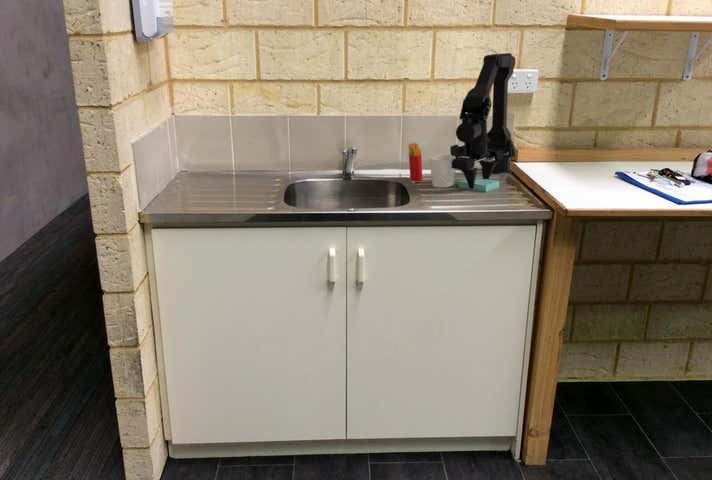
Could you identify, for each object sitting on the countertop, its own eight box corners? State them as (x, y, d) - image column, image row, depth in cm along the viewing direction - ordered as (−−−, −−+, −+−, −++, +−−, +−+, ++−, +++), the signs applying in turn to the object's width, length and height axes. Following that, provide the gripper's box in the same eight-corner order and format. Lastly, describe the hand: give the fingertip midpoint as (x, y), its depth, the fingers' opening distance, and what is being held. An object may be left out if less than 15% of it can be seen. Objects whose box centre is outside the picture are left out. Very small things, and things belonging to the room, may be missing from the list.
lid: (471, 182, 196) (471, 176, 196) (499, 187, 188) (499, 181, 188) (458, 187, 192) (457, 181, 192) (486, 192, 184) (485, 185, 184)
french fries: (422, 183, 205) (420, 145, 200) (410, 184, 205) (408, 146, 201) (422, 177, 213) (420, 140, 209) (410, 178, 214) (408, 141, 209)
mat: (473, 184, 198) (473, 181, 198) (503, 189, 189) (503, 186, 189) (453, 191, 192) (453, 188, 192) (483, 196, 183) (483, 193, 183)
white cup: (454, 190, 193) (453, 159, 190) (430, 191, 195) (428, 160, 192) (456, 184, 200) (455, 154, 197) (432, 184, 202) (430, 155, 199)
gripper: (475, 129, 197) (476, 176, 202) (437, 139, 185) (439, 189, 191) (504, 131, 188) (504, 180, 194) (465, 142, 177) (466, 194, 182)
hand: (478, 185), depth 190 cm, fingers closed on lid, 6 cm apart
